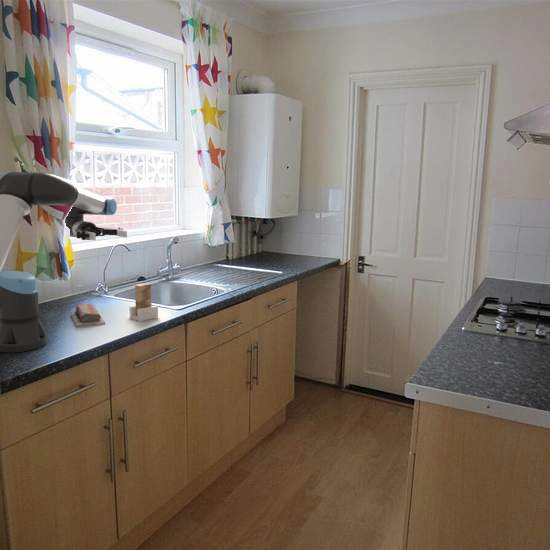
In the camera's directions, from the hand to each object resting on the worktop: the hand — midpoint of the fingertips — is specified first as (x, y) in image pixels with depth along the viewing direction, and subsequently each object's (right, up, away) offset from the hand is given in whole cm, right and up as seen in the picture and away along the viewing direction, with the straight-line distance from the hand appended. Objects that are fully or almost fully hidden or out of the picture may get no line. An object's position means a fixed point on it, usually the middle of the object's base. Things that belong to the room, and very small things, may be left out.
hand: (110, 235), depth 206 cm
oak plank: (+15, -31, -6) cm, 35 cm away
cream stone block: (+15, -32, -6) cm, 36 cm away
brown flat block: (-6, -33, -10) cm, 35 cm away
